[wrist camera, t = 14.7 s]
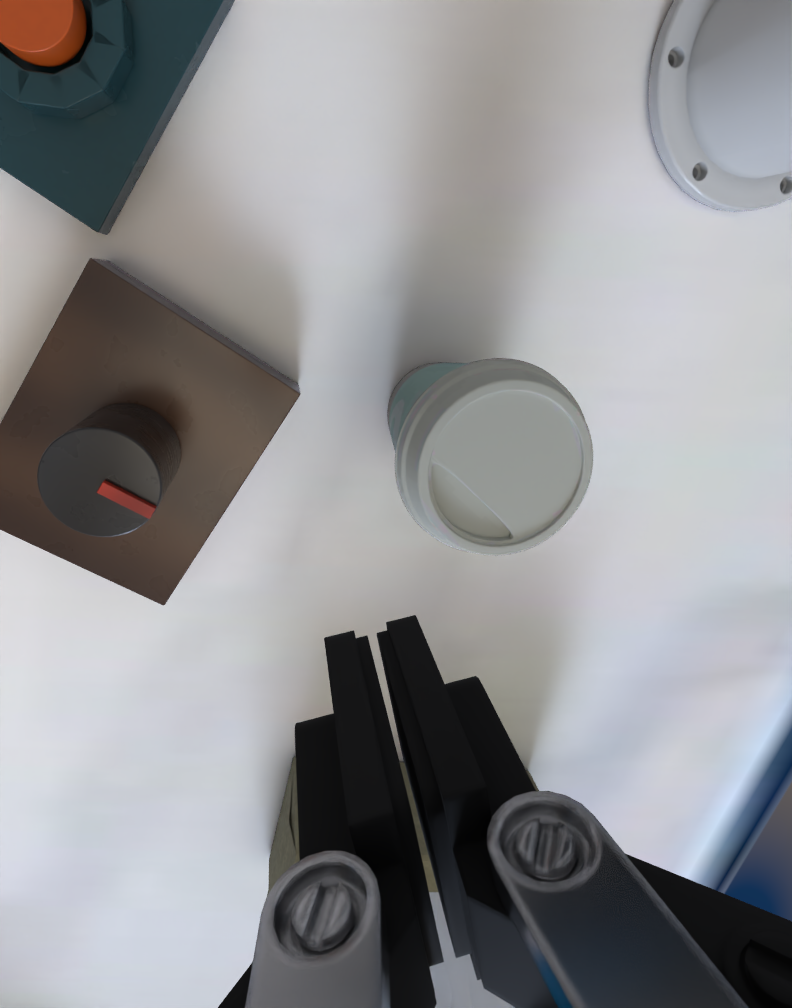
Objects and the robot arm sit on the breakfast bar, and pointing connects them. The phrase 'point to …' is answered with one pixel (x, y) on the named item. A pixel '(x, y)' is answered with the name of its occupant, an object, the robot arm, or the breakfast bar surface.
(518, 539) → the coffee cup
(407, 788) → the tissue box
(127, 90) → the button box
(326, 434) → the breakfast bar surface
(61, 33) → the button
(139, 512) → the knob
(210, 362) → the panel
